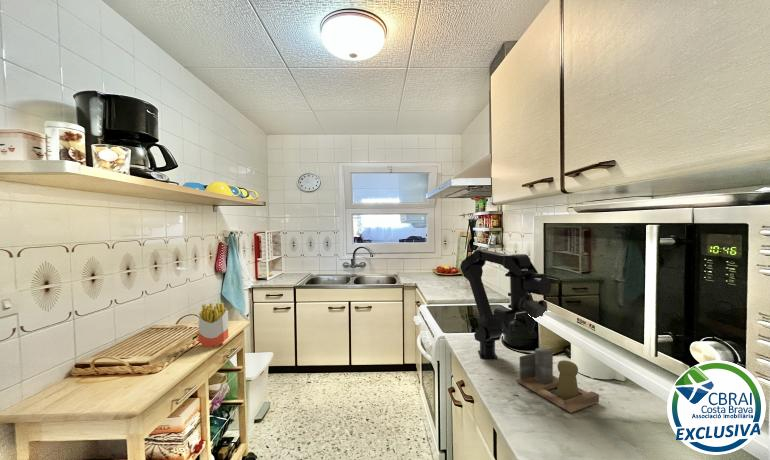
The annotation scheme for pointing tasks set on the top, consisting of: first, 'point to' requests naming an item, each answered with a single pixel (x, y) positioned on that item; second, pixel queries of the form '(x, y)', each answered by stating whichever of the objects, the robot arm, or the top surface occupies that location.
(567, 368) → the tan rounded peg
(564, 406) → the wooden shape sorter tray
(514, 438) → the top surface
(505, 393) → the top surface
